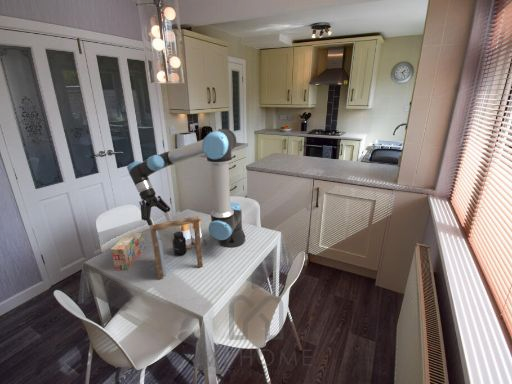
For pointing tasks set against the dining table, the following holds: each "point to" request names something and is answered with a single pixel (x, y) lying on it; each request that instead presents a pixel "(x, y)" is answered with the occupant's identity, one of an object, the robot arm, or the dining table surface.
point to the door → (161, 254)
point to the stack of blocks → (127, 251)
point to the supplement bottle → (179, 244)
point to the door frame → (173, 224)
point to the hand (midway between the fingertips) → (163, 226)
